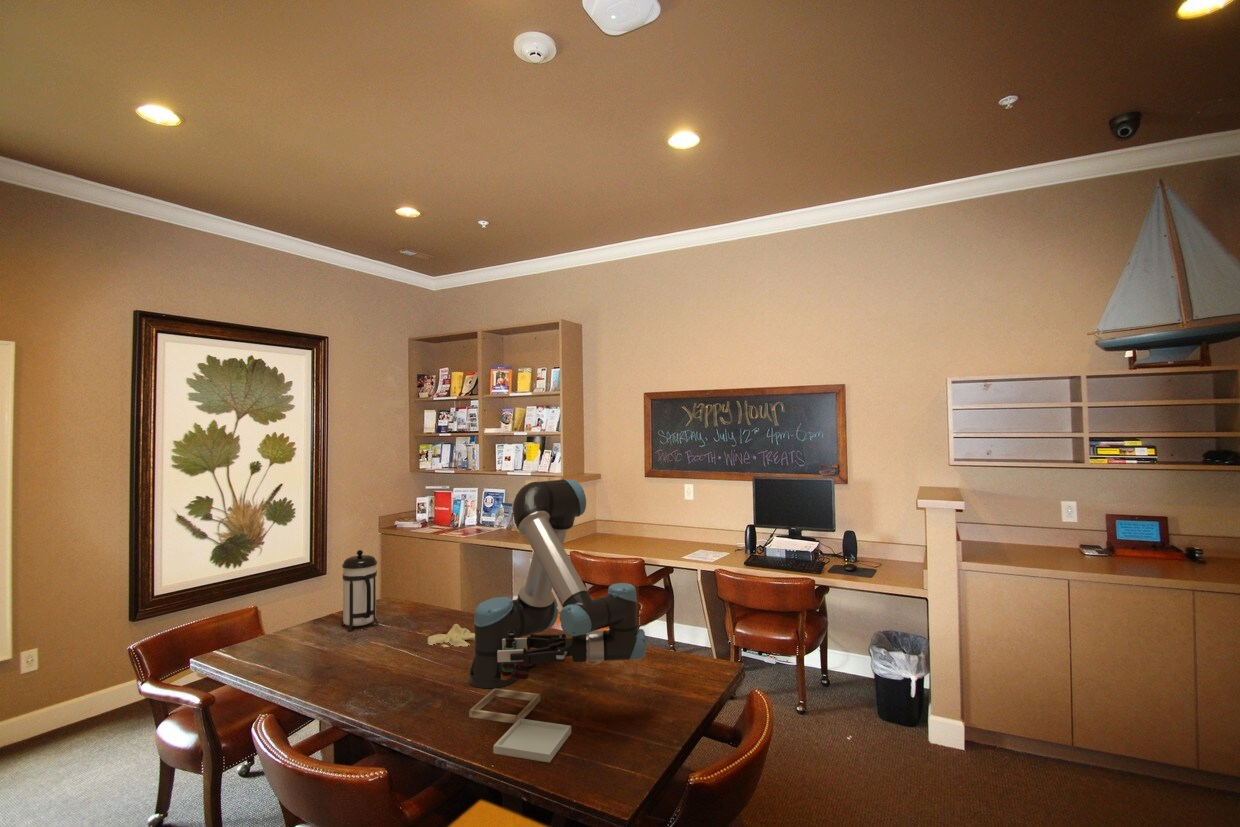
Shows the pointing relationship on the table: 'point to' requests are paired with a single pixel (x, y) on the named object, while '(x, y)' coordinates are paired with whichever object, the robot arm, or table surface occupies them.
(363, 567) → the coffee press
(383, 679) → the table surface
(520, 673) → the binoculars
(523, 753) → the tray
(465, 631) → the cloth
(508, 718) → the holder
